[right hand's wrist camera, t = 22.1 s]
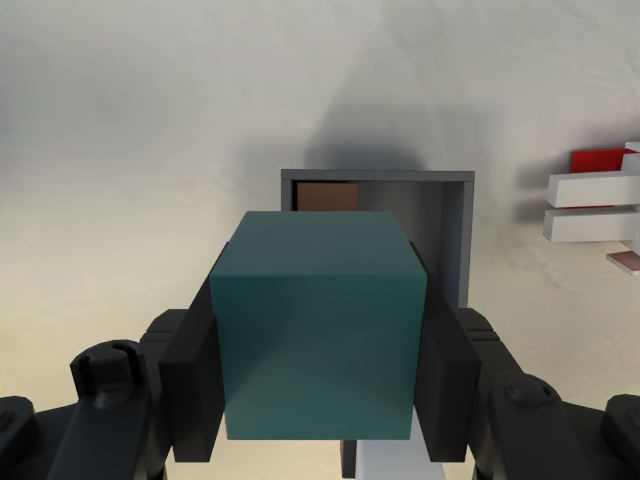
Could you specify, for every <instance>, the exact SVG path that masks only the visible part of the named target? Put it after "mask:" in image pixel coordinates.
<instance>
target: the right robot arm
mask: <svg viewBox="0 0 640 480" xmlns="http://www.w3.org/2000/svg"><path fill="white" fill-rule="evenodd" d="M228 243H229V242H227V243H226V245H225V246H224V248H223V250H222V252H221V253H220V255H219V257H218V258H217V260H216V262H215V264H214V265H213V267H212V269H211V271H210V272H209V274H208V276H207V278H206V279H205V281H204V283H203V284H202V286H201V288H200V290H199V291H198V293H197V295H196V297H195V298H194V300H193V302H192V304H191V305H190V307H189V309H168V310H167V311H165V312H164V313H162V314H161V315H160V316H158V317H157V318H155V319H154V320H153V322H152V323H151V325H150V326H149V328H148V329H147V331H146V333H144V335H143V336H142V338H141V339H140V343H138V342H135V341H131V340H112V341H107V342H103V343H100V344H97V345H95V346H93V347H90V348H88V349H86V350H85V351H83V352H82V353H81V354H79V355H78V356H76V357H75V359H74V360H73V361H72V362H71V364H70V368H71V372H72V376H73V379H74V383H75V387H76V390H77V394H78V398H79V400H78V402H77V403H75V404H71V405H68V406H64V407H59V408H55V409H50V410H46V411H42V412H37V413H35V410H34V407H33V404H32V402H31V401H30V400H28V399H27V398H26V397H19V396H10V397H2V398H0V480H167V472H166V467H165V461H166V458H167V456H168V453H169V451H170V448H171V446H172V447H173V452H174V458H175V462H209V461H210V458H211V454H212V451H213V447H214V444H215V440H216V437H217V433H218V430H219V427H220V423H221V420H222V416H223V413H224V409H225V406H226V402H225V393H224V383H223V374H222V364H221V355H220V346H219V336H218V327H217V317H216V315H214V313H213V303H212V294H211V285H210V274H211V272H212V270H213V269H214V267H215V265H216V264H217V262H218V260H219V258H220V257H221V255H222V253H223V251H224V250H225V248H226V246H227V245H228ZM409 244H410V245H411V247H412V249H413V251H414V253H415V254H416V256H417V258H418V260H419V262H420V263H421V265H422V267H423V269H424V271H425V272H426V274H427V285H426V294H425V304H424V313H423V322H422V331H421V340H420V350H419V359H418V369H417V378H416V388H415V397H414V407H415V410H416V414H417V417H418V421H419V424H420V428H421V431H422V434H423V438H424V441H425V445H426V448H427V452H428V455H429V459H430V462H465V456H466V451H467V445H469V447H470V450H471V452H472V455H473V457H474V459H475V467H474V472H473V477H472V480H640V396H636V395H629V394H622V395H616V396H613V397H612V398H611V399H610V400H608V402H607V405H606V408H605V411H602V410H597V409H593V408H588V407H584V406H579V405H575V404H571V403H568V402H564V401H562V399H561V398H560V396H559V395H558V393H557V392H556V390H555V389H554V388H553V387H551V386H550V385H549V384H547V383H546V382H545V381H543V380H541V379H539V378H537V377H535V376H533V375H530V374H526V373H524V372H523V371H522V369H521V368H520V366H519V365H518V364H517V362H516V361H515V359H514V358H513V356H512V355H511V354H510V352H509V351H508V349H507V348H506V346H505V345H504V344H503V342H502V341H500V338H499V336H498V335H497V334H496V332H494V329H493V328H492V326H491V325H490V324H489V322H488V321H487V319H486V318H485V317H484V316H482V315H481V314H479V313H478V312H476V311H475V310H474V309H472V308H450V306H449V304H448V302H447V301H446V299H445V297H444V295H443V294H442V292H441V290H440V288H439V287H438V285H437V283H436V282H435V280H434V278H433V276H432V275H431V273H430V271H429V269H428V268H427V266H426V264H425V262H424V261H423V259H422V257H421V256H420V254H419V252H418V250H417V249H416V247H415V245H414V243H413V242H409Z"/></svg>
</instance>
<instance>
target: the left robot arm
mask: <svg viewBox="0 0 640 480" xmlns="http://www.w3.org/2000/svg"><path fill="white" fill-rule="evenodd" d="M355 480H446V478H445V474H444V470H443V466H442V463H441V462H430V459H429V455H428V452H427V448H426V445H425V441H424V438H423V434H422V431H421V428H420V424H419V421H418V417H417V414H416V410H415V407H414V408H413V417H412V426H411V436H410V440H357V454H356V472H355Z"/></svg>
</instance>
